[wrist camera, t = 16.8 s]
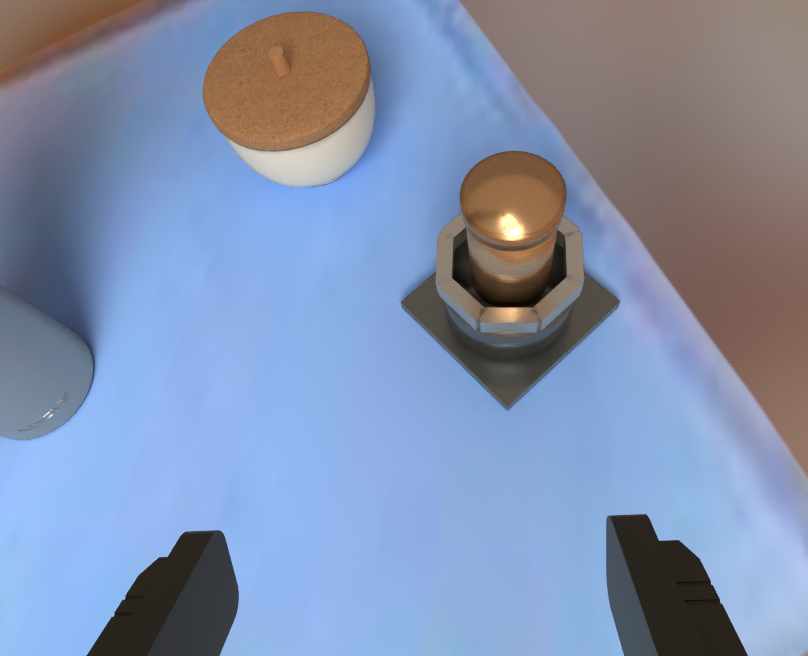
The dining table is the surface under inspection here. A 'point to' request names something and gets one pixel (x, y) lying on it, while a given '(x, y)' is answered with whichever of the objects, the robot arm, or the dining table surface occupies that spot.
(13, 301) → the robot arm
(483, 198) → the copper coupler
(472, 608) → the dining table surface
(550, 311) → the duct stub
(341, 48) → the lidded bowl
